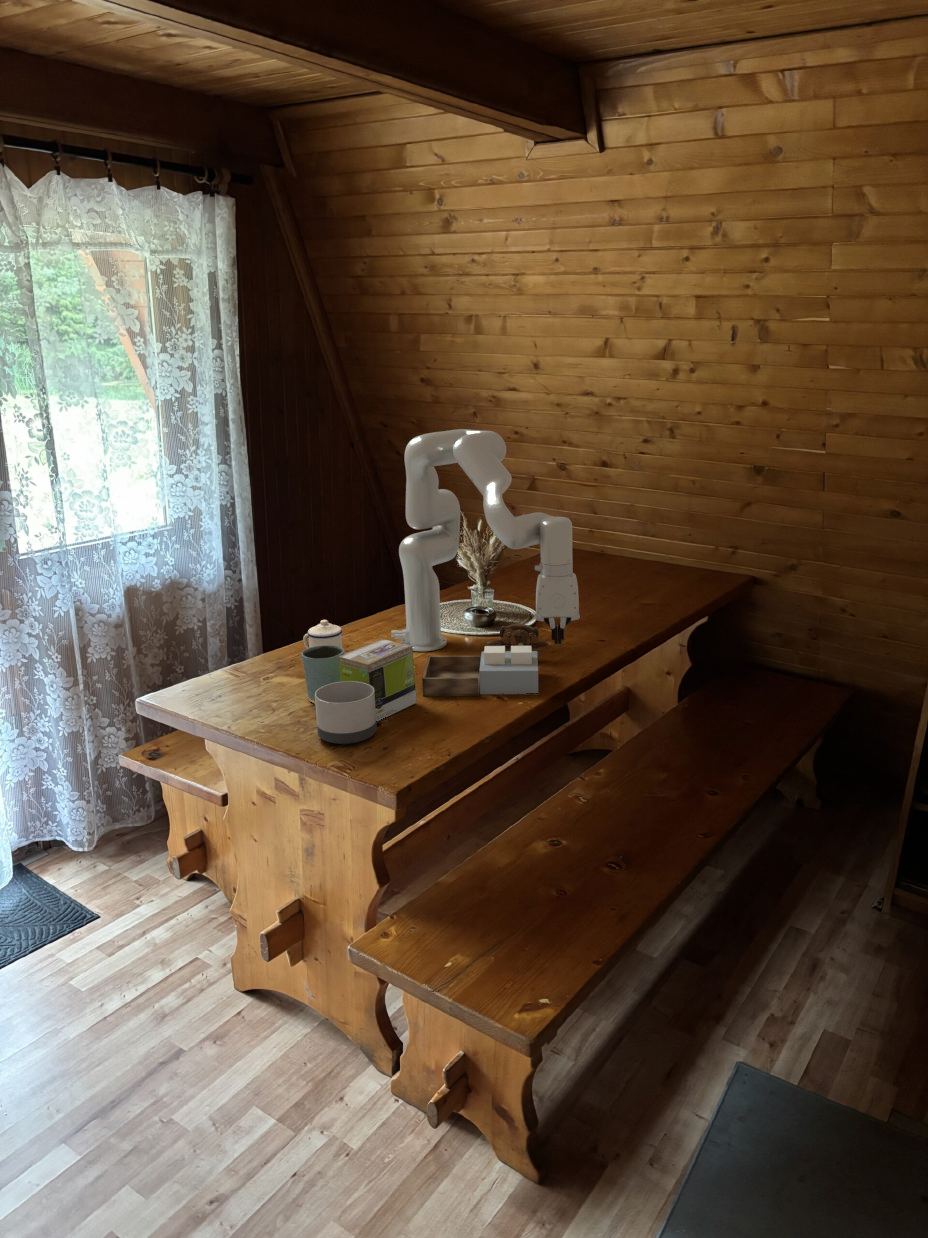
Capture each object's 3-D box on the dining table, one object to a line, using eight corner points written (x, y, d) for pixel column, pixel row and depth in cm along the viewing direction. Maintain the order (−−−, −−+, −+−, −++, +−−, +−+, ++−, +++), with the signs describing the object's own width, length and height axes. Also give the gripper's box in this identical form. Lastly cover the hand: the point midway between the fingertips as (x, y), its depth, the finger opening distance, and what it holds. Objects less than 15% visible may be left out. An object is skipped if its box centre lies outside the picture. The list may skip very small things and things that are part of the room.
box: (422, 696, 231) (422, 678, 229) (429, 672, 246) (428, 656, 244) (478, 695, 230) (478, 678, 228) (481, 672, 245) (480, 655, 244)
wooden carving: (486, 665, 250) (485, 628, 247) (486, 659, 254) (485, 623, 251) (549, 663, 250) (549, 627, 247) (548, 657, 254) (548, 621, 251)
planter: (336, 754, 201) (332, 708, 198) (307, 734, 211) (304, 690, 208) (388, 738, 208) (385, 693, 205) (358, 719, 218) (355, 676, 215)
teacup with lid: (351, 659, 257) (348, 618, 253) (329, 670, 249) (326, 627, 246) (316, 652, 263) (313, 612, 259) (294, 663, 255) (291, 621, 252)
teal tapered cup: (308, 708, 225) (304, 660, 221) (302, 693, 234) (298, 647, 231) (350, 703, 228) (347, 655, 224) (343, 688, 237) (340, 642, 233)
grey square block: (479, 694, 231) (479, 671, 229) (482, 673, 244) (481, 651, 242) (538, 694, 230) (538, 670, 228) (537, 673, 243) (537, 651, 241)
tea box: (386, 695, 232) (383, 637, 228) (417, 704, 226) (414, 645, 221) (341, 715, 221) (337, 654, 217) (372, 725, 215) (368, 663, 210)
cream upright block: (511, 664, 233) (510, 652, 232) (511, 657, 237) (511, 645, 237) (531, 664, 232) (531, 652, 231) (531, 657, 237) (531, 645, 236)
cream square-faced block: (484, 664, 233) (484, 652, 232) (485, 657, 238) (484, 646, 237) (504, 664, 233) (504, 652, 232) (505, 657, 237) (505, 645, 237)
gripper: (525, 574, 224) (527, 648, 230) (589, 572, 223) (589, 647, 229) (525, 566, 231) (526, 638, 237) (587, 564, 230) (587, 637, 236)
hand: (557, 642), depth 233 cm, fingers closed
